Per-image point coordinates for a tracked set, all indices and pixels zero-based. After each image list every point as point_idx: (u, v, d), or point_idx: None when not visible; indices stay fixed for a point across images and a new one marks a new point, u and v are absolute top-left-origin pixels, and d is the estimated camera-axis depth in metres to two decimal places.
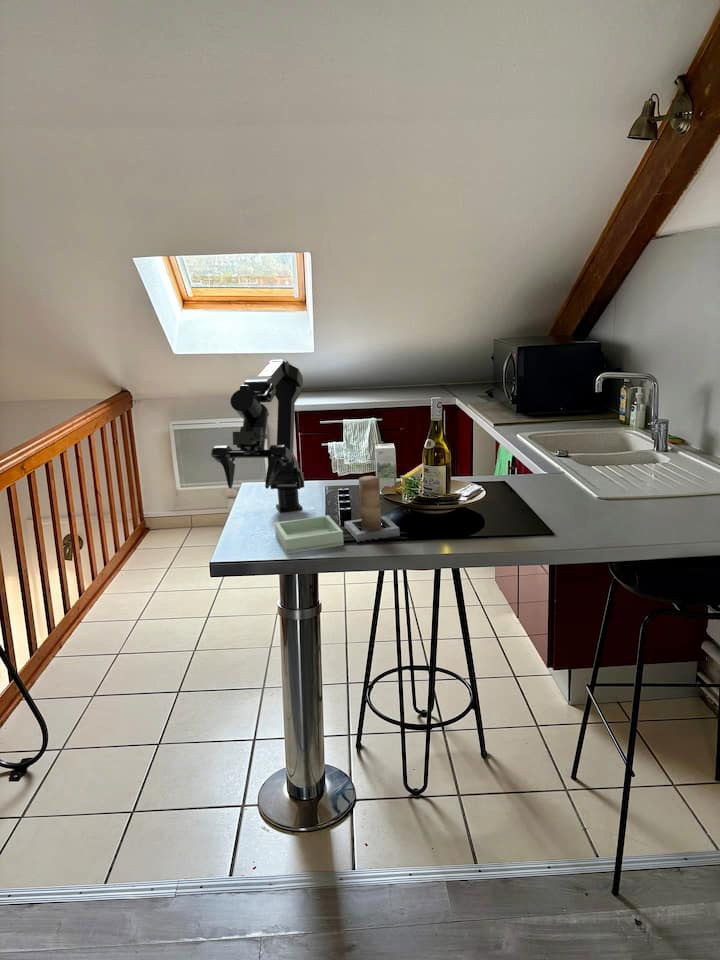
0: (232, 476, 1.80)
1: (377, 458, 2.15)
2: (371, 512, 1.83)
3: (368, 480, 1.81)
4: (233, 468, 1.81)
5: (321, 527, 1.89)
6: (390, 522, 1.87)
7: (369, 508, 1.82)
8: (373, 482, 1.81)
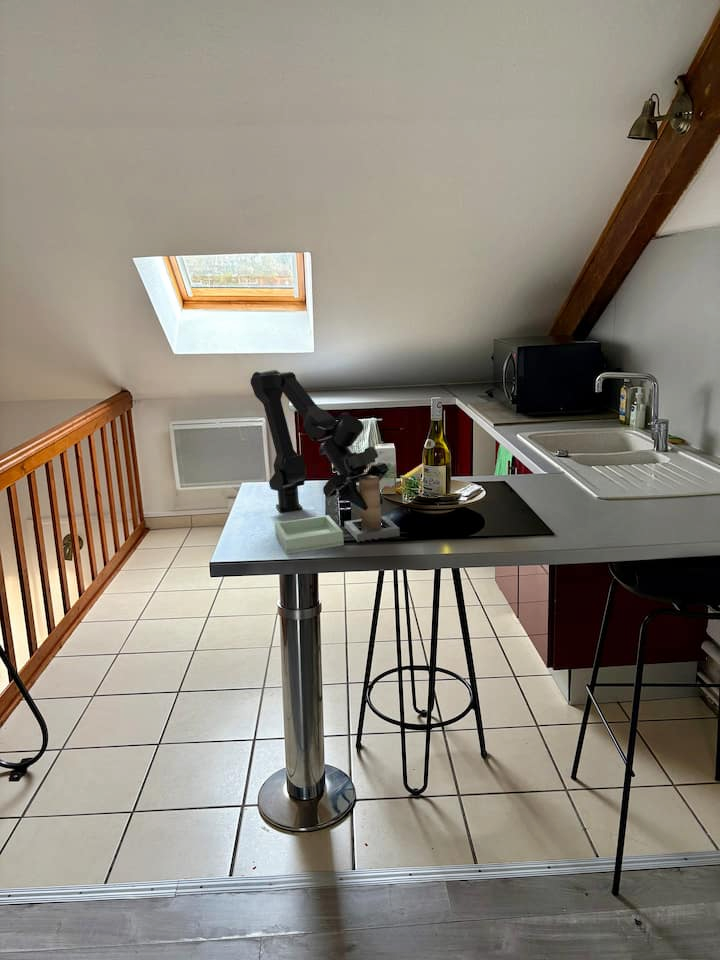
0: None
1: (377, 458, 2.15)
2: (371, 512, 1.83)
3: (368, 480, 1.81)
4: None
5: (321, 527, 1.89)
6: (390, 522, 1.87)
7: (369, 508, 1.82)
8: (373, 482, 1.81)
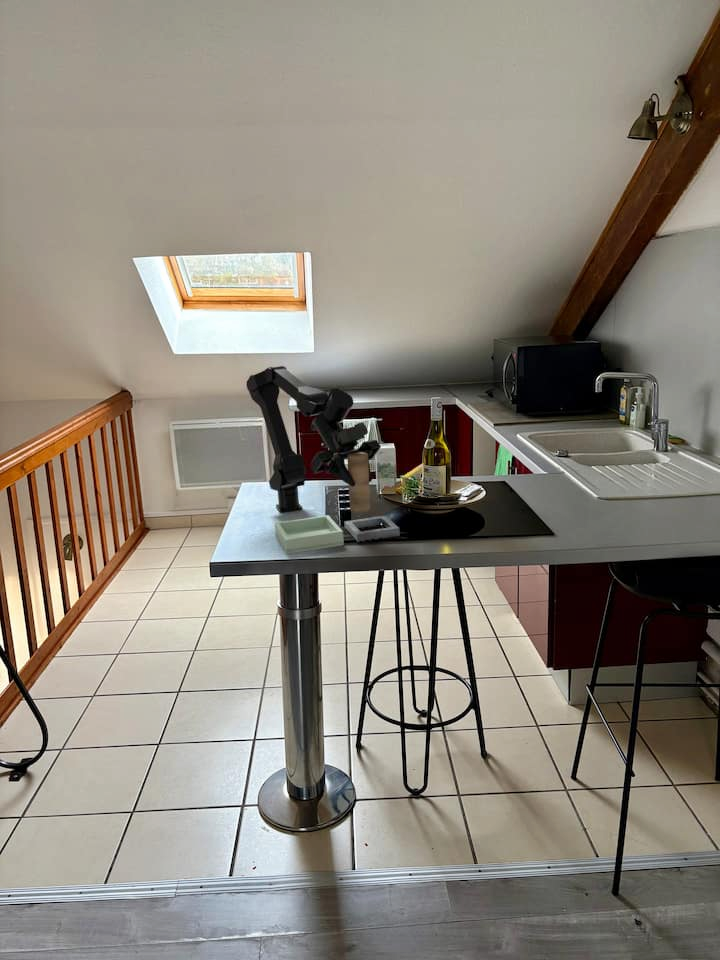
0: None
1: (377, 458, 2.15)
2: (359, 488, 1.80)
3: (356, 456, 1.79)
4: None
5: (321, 527, 1.89)
6: (390, 522, 1.87)
7: (357, 484, 1.80)
8: (361, 458, 1.78)
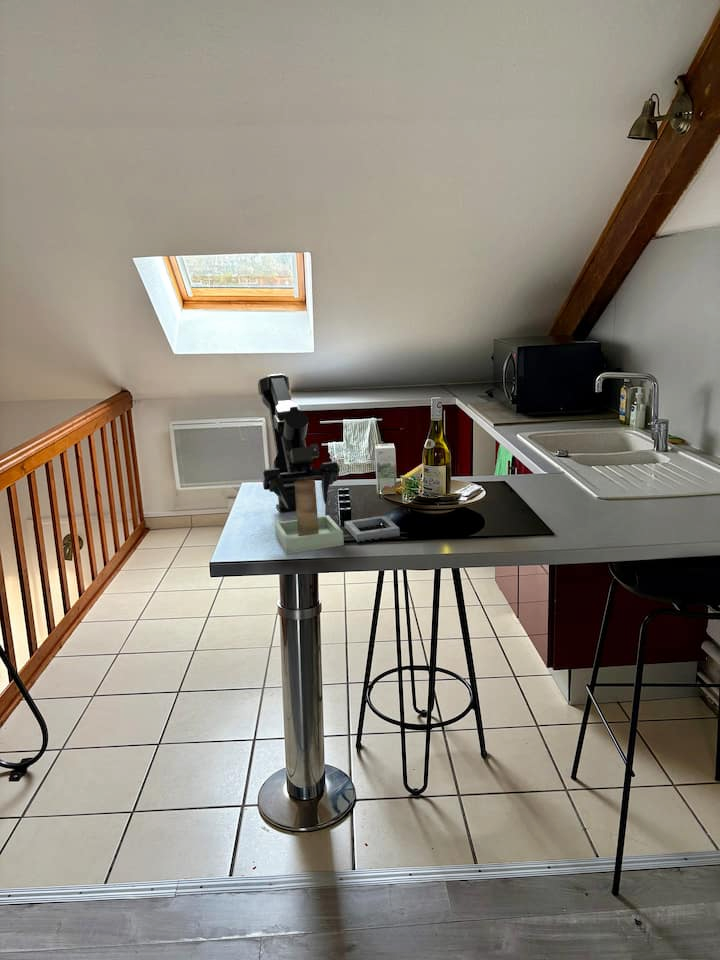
0: None
1: (377, 458, 2.15)
2: (301, 516, 1.79)
3: (300, 483, 1.78)
4: None
5: (321, 527, 1.89)
6: (390, 522, 1.87)
7: (300, 511, 1.79)
8: (303, 486, 1.77)
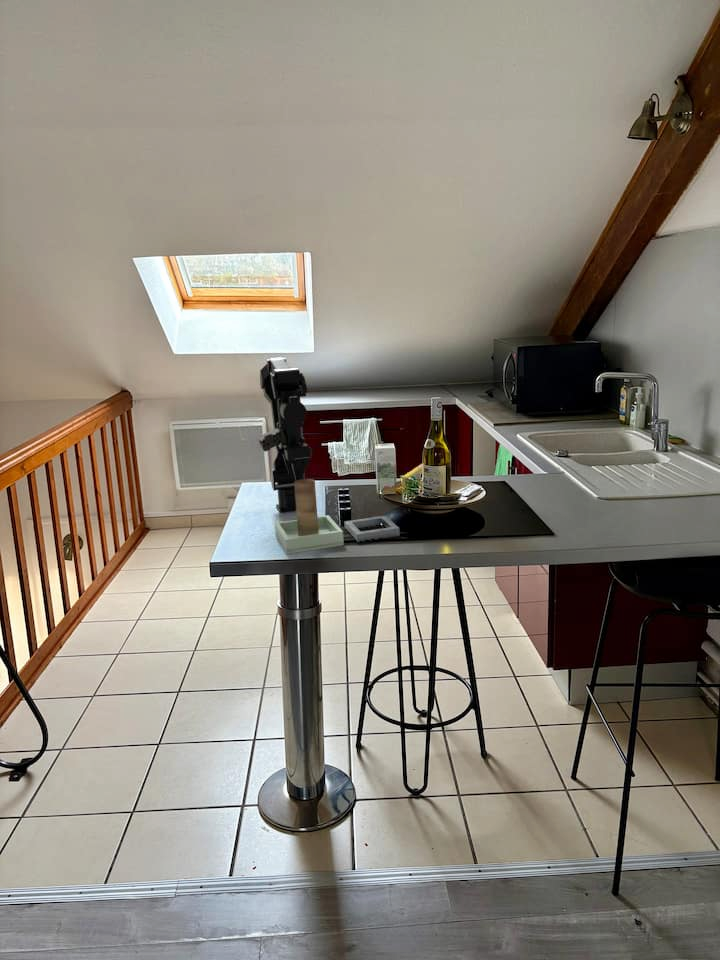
0: None
1: (377, 458, 2.15)
2: (301, 516, 1.79)
3: (300, 483, 1.78)
4: None
5: (321, 527, 1.89)
6: (390, 522, 1.87)
7: (300, 511, 1.79)
8: (303, 486, 1.77)
